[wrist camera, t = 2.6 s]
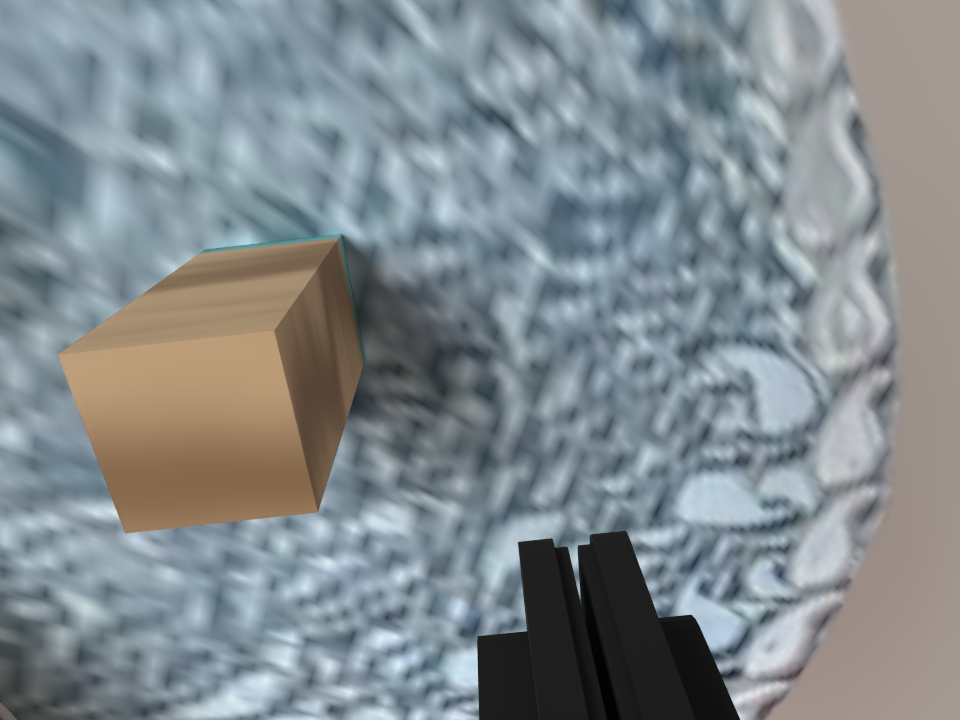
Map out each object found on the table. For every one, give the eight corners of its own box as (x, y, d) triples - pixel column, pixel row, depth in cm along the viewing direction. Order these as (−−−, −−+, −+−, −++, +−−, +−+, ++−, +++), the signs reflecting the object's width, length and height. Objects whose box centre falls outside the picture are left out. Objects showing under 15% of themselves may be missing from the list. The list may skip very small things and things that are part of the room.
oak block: (205, 249, 25) (57, 355, 16) (341, 234, 25) (274, 330, 16) (238, 374, 27) (125, 533, 18) (365, 360, 27) (318, 512, 18)
